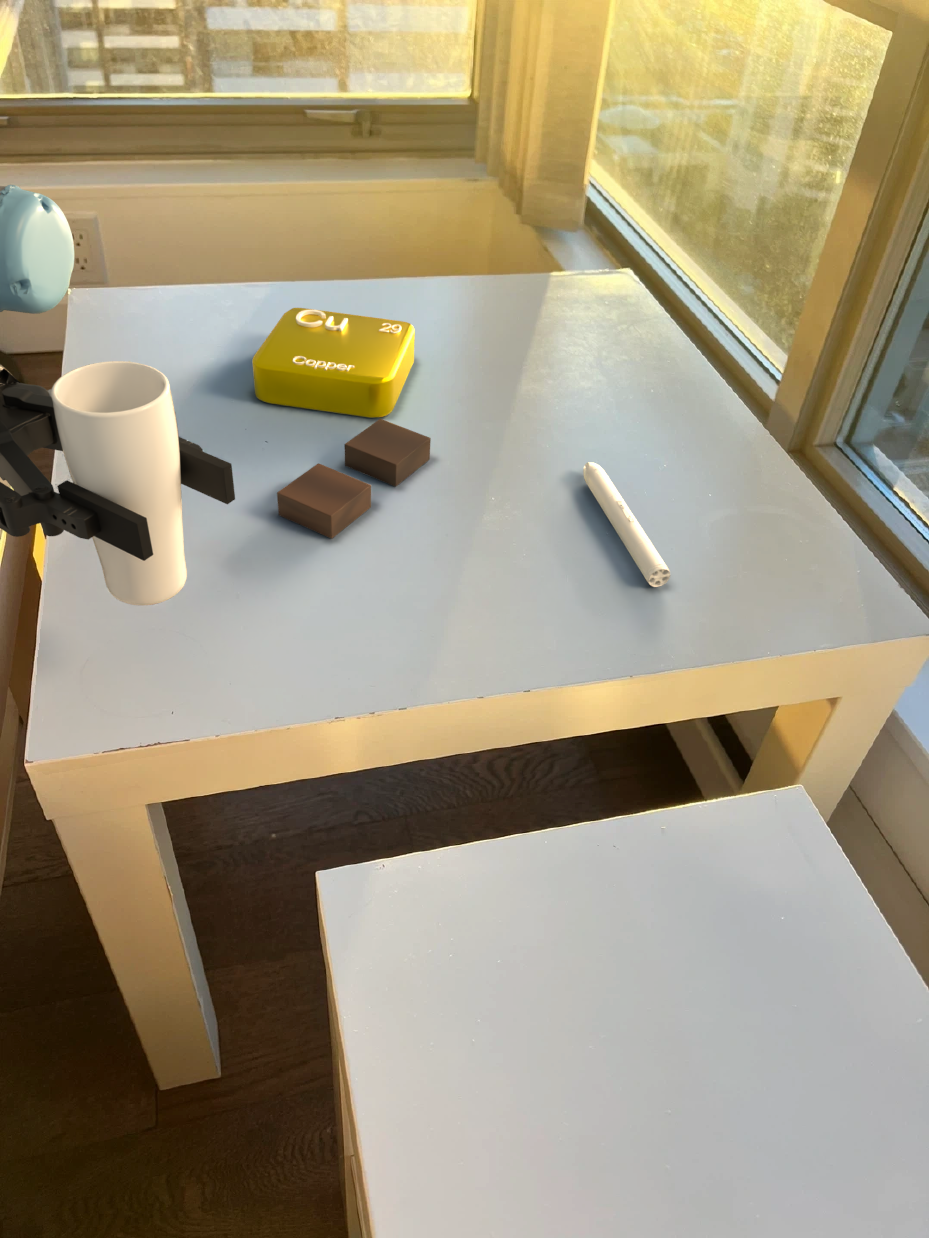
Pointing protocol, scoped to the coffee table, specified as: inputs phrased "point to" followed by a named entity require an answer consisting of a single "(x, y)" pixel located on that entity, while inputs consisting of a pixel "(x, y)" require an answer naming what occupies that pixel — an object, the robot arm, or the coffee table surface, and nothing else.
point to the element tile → (334, 362)
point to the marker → (626, 526)
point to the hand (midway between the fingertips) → (188, 510)
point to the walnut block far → (387, 452)
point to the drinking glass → (127, 467)
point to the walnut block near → (324, 500)
